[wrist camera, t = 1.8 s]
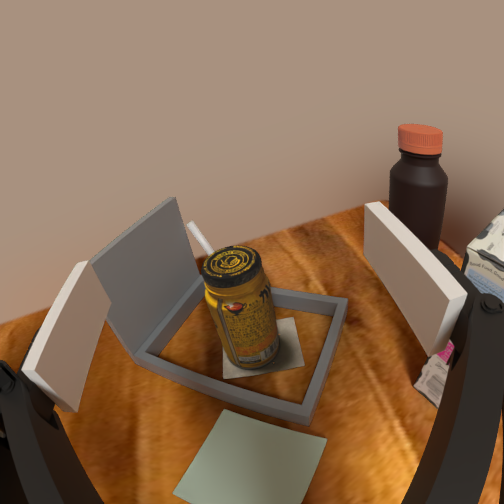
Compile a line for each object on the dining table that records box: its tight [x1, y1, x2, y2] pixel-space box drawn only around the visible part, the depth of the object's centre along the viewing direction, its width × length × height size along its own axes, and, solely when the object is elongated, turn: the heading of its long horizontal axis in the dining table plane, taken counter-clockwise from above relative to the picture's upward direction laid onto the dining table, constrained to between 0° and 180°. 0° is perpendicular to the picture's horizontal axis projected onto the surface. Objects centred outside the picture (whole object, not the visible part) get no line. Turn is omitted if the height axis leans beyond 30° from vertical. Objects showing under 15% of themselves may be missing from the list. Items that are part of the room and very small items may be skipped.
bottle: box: [389, 124, 448, 250], centre depth 30 cm, size 7×7×20 cm
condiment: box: [201, 246, 305, 379], centre depth 29 cm, size 7×8×12 cm
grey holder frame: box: [89, 197, 348, 426], centre depth 30 cm, size 21×16×14 cm
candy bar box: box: [413, 209, 504, 409], centre depth 19 cm, size 11×5×16 cm, turn 118°
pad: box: [172, 409, 327, 504], centre depth 20 cm, size 10×10×1 cm
